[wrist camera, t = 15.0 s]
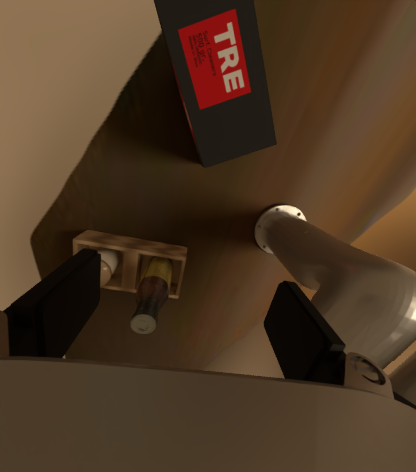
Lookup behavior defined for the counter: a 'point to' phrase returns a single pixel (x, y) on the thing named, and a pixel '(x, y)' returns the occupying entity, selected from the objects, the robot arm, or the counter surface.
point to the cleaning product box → (219, 75)
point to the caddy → (134, 258)
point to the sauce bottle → (152, 294)
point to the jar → (108, 263)
